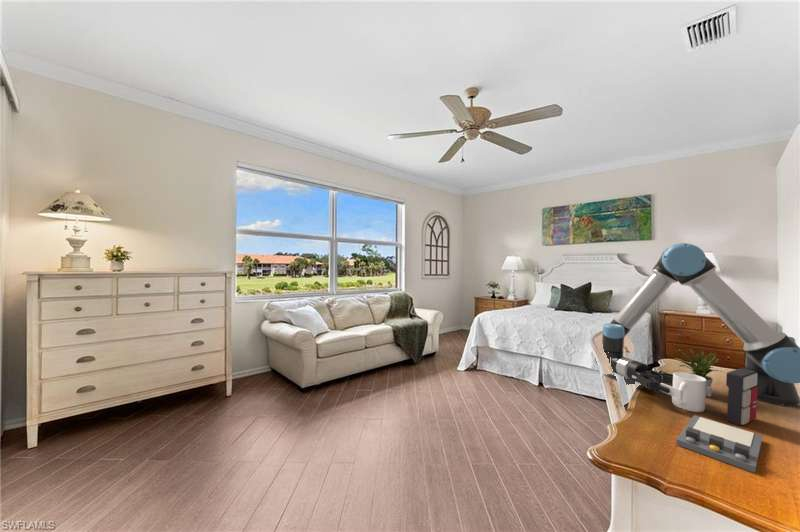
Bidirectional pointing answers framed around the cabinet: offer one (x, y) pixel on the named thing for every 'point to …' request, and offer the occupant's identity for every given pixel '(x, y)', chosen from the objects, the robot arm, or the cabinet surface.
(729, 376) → the dark grey box
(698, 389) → the mug
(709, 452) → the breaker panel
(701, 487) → the cabinet surface
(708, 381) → the house plant
